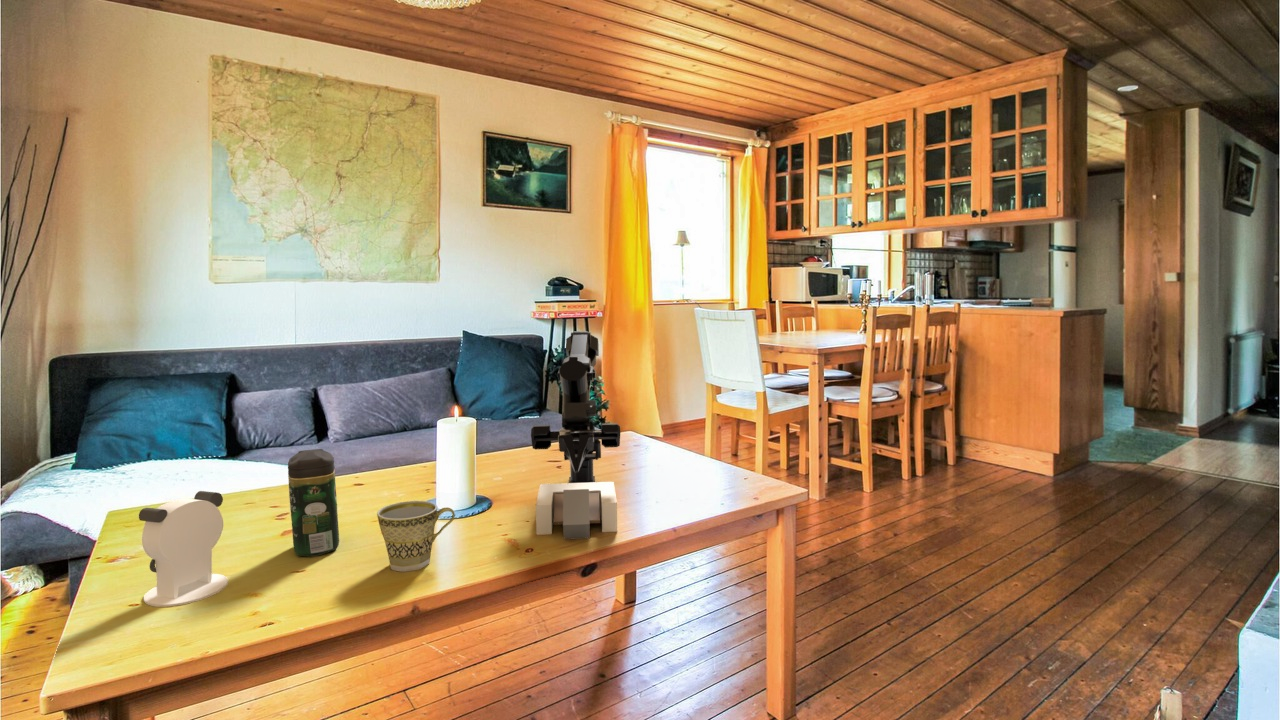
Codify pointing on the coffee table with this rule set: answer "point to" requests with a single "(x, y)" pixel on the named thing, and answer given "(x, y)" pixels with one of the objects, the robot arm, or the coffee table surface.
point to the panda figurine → (183, 549)
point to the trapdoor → (593, 508)
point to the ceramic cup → (410, 533)
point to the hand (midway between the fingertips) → (576, 471)
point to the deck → (548, 490)
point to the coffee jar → (313, 502)
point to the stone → (576, 514)
